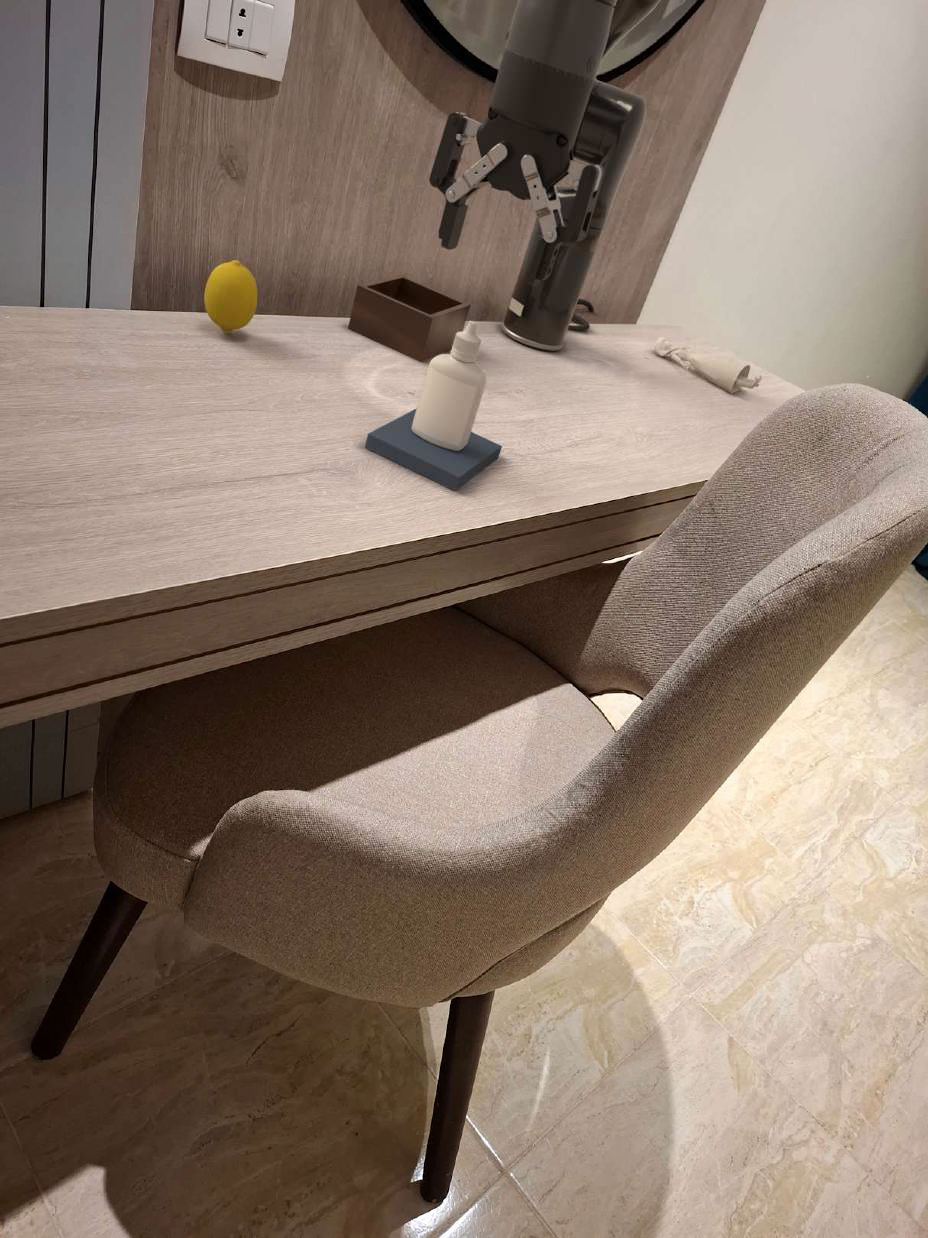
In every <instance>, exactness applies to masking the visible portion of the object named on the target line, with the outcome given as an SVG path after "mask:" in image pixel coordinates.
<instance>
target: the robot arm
mask: <svg viewBox="0 0 928 1238" xmlns="http://www.w3.org/2000/svg"><path fill="white" fill-rule="evenodd" d="M661 1H662V0H518V1H517V3H516V7H515V10H514V13H513V16H512V19H511V24H510V26H509V27H508V29H507V33H506V36H505V44H504V45H505V46H504V49H503V53H502V56H501V61H500V64H499V68H498V71H497V75H496V79H495V82H494V87H493V90H492V94H491V98H490V101H489V106H488V111H487V112H488V113H487V115H486V117H485V118H484V120H483V121H482V123H481V122H479V121H477V120H476V119H474V118H472V116H471V115H470V114H469V113H467V112H458V111H456V112H450V113H449V114H448V116H447V119H446V122H445V126H444V129H443V132H442V134H441V135H442V136H441V137H440V138H441V139H440V142H439V145H438V149H437V152H436V155H435V157H434V161H433V165H432V168H431V171H430V174H429V183H430V185H431V186H432V187H433V188H437V189H438V191H440V192H441V193H442V194H443V196H444V198H445V205H444V209H443V213H442V216H441V220H440V224H439V227H438V239H439V240H441V242H440V246H441V248H443V249H446V250H448V251H450V250H454V249H456V248H457V246H458V245H459V242H460V238H461V234H462V231H463V228H464V223H465V221H466V220H465V219H466V216H467V214H468V213H467V212H468V210H469V205H468V204H466V203H467V200H468V199H470V198H471V197H472V196H474V195H475V194H476V193H477V192H478V191H480V190H481V189H482V188H484V187H486V186H488V185H491V186H490V187H491V188H492V189H495V190H497V191H502V192H509V193H510V194H511V195H512V196H514V197H515V198H516V199H517V198H518V199H519V200H522V201H529V200H530V201H531V204H532V207H533V212H534V213H535V216H536V219H535V222H534V225H533V229H532V232H531V234H530V238H529V242H528V245H527V247H526V249H525V250H526V251H525V253H524V257H523V260H522V263H521V266H520V270H519V273H518V275H517V279H516V281H515V285H514V288H513V292H512V295H511V297H510V301H509V304H508V307H507V310H506V313H505V316H504V319H503V320H502V324H501V325H500V326H501V331H502V332H503V333H504V334H505V335H506V336H508V337H509V338H511V339H513V340H514V341H516V342H519V343H521V344H523V345H526V346H529V347H532V348H534V349H538V350H541V351H542V350H543V351H550V352H551V351H552V352H554V351H555V352H557V351H560V350H562V349H563V345H564V343H565V338H566V335H567V334H568V333H567V332H568V331H570V332H585V331H587V330H589V329H590V326H591V325H590V323H589V321H587V319H584V318H583V317H582V316H580V315H578V314H576V313H575V312H576V308H577V306H578V305H579V306H584V307H586V308H587V309H588V312H590V313H594V312H595V309H594V306H593V304H592V303H591V302H590V301H589V300H587V299H583V298H580V296H581V294H582V291H583V289H584V285H585V282H586V281H587V277H588V275H589V272H590V269H591V267H592V264H593V261H594V258H595V255H596V253H597V249H598V246H599V244H600V241H601V238H602V236H603V233H604V230H605V227H606V224H607V221H608V218H609V215H610V212H611V211H612V207H613V204H614V201H615V198H616V196H617V193H618V190H619V188H620V185H621V182H622V180H623V177H624V175H625V172H626V170H627V168H628V165H629V163H630V161H631V158H632V156H633V153H634V151H635V148H636V146H637V144H638V142H639V139H640V136H641V133H642V130H643V128H644V125H645V121H646V117H647V103H646V101H645V99H644V98H643V97H642V96H640V95H639V94H636V93H633V92H632V91H631V92H630V91H628V90H625V89H623V88H620V87H617V86H615V85H612V84H609V83H606V82H604V81H600V80H598V79H597V74H598V72H599V68H600V65H601V64H602V62H603V61H604V59H605V58H606V57H607V56H608V55H609V53H611V51H612V50H613V49H614V47H615V46H616V45H617V44H618V43H619V42H620V41H621V40H622V39H623V38H624V37H626V35H627V34H628V33H630V31H632V30H634V28H635V27H636V26H638V25H639V24H640V23H641V22H642V21H644V19H645V18H646V17H648V16H649V14H651V13H652V12H653V10H654V9H655V8H656V7H657V6H658V4H659V3H660V2H661ZM475 138H476V143H477V147H478V151H479V154H480V159H479V160H478V161H477V162H476V163H474V164H473V165H472V166H471V167H470V168H468V169H467V170H466V171H465V172H464V173H463V174H462V176H461V177H460V178H458V180H457V179H456V174H457V171H458V168H459V164H460V161H461V158H462V155H463V153H464V149H465V146H469V145H470V144H471V143H472V141H473V140H474V139H475ZM568 175H570V176H571V179H572V181H571V183H560V184H559V182H561V181H562V180H563V179H564V178H566V177H567V176H568ZM572 320H574V321H575V322H577V323H579V324H581V325H573V324H572V325H571V322H572Z"/></svg>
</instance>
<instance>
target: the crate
mask: <svg viewBox="0 0 928 1238" xmlns="http://www.w3.org/2000/svg"><path fill="white" fill-rule="evenodd" d="M470 308H471V304H469V303H467V302H465V301H462V300H460V299H458V298H456V297H453V296H451V295H449V294H446V293H445V292H441V291H440V290H437V289H435V288H433V287H430V286H428V285H426V284H424V283H421V282H419V281H417V280H414V279H413V278H409V277H407V276H405V275H402V274H398V275H394V276H389V277H385V278H381V279H380V278H379V279H377V280H373V281H369V282H365V283H360V284H357V286H356V290H355V295H354V299H353V303H352V309H351V314H350V318H349V323H348V326H347V329H348V330H351V331H352V332H355V333H357V334H359V335H361V336H364V337H366V338H368V339H371V340H373V341H375V342H377V343H380V344H381V345H384V346H385V347H388V348H390V349H392V350H395V351H396V352H399V353H401V354H404V355H406V356H408V357H409V358H413V359H414V360H417V361H419V362H424V361H426V360H428V359H430V358H434V357H436V356H438V355H441V354H443V353H444V352H446V351H448V350H452V346H453V343H454V339H455V336H456V333H457V332H461V331H464V330H465V325H466V323H467V318H468V315H469V313H470Z"/></svg>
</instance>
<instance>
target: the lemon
mask: <svg viewBox="0 0 928 1238" xmlns="http://www.w3.org/2000/svg"><path fill="white" fill-rule="evenodd" d="M257 286H258V285H257V282H256V278H255V277H254V275H253V274H252V272H251V271H250V269H248V268H247V267H246V266H244V265H243V264H242V263H241V262H240V260H237V259H233V260H232V261H228V262H224V263H221V264H219V265H217V266H216V267H215V268H214V269H213V270H212V272H211V273H210V275H209V276H208V279H207V282H206V285H205V289H204V295H203V296H204V298H203V299H204V307H205V310H206V314H207V315H208V317H209V319H210V320H211V321H212V322H213V323H214V324H215V326H218V327H219V328H220V329H221V331H222V332H223V333H224V334H230V333H232V332H233V331H236V330H240V329H243V328H244V327H246V326H247V325H248V324H249V323H250V322H251V320H252V319H253V318H254V316H255V315H256V310H257V306H258V298H259V296H258V287H257Z"/></svg>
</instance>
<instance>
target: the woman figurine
mask: <svg viewBox="0 0 928 1238" xmlns="http://www.w3.org/2000/svg"><path fill="white" fill-rule="evenodd" d="M672 346H673V344H672V342H671V341H670V340H667V341H666V340H665V337H661V336H660V337H659V338H657V340H656V341H655V342H654V344H653V351H654V352H655V354H657V355H658V356H661V357H664V356H665V357H666V356H667V355H668V356H669V358H670V359H671V360H673V361H676V363H678V364H679V365H681V366H682V368H683V369H684V370H685V371H688V369H689V366H690V365H691V367H692V368H693V370H695V372H698V373H699V374H700V375H702V376H703V377H705V378H706V379H707V380H709V381H710V382H712V383H714V384H715V385H717V386H718V387H720V388H722V389H723V390H725V391H726V392H728V393H730V394H734V393H736V392H739V391H740V390H741V389H742V388H746V389H750V390H753V389H754V388H758V387H759V386H760V382H761V381H762V376H761V375H759V377H758V378H757V376H755V377H754V379H750V378H748V377H749V374H750V371H751V365H750V364H746V363H743V362H739V361H734V360H729V359H726V358H725V359H724V358H720V357H716V356H711V355H706V354H705V355H704V354H700V353H693V352H692V351H691V350H690V349H691V347H690V346H688V345H680V346H676V347H673V348H672ZM684 362H689V363H684Z"/></svg>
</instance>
